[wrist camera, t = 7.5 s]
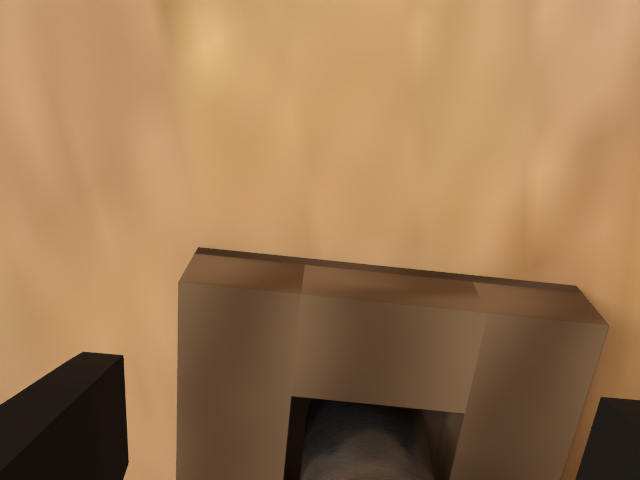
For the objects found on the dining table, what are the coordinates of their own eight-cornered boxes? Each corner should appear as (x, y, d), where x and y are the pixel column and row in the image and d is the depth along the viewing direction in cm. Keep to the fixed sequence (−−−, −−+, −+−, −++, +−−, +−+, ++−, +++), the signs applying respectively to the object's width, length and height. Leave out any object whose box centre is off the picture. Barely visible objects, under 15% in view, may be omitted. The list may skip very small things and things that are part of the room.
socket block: (575, 286, 19) (609, 325, 17) (497, 560, 23) (514, 622, 21) (198, 247, 19) (178, 282, 16) (191, 530, 23) (175, 589, 21)
